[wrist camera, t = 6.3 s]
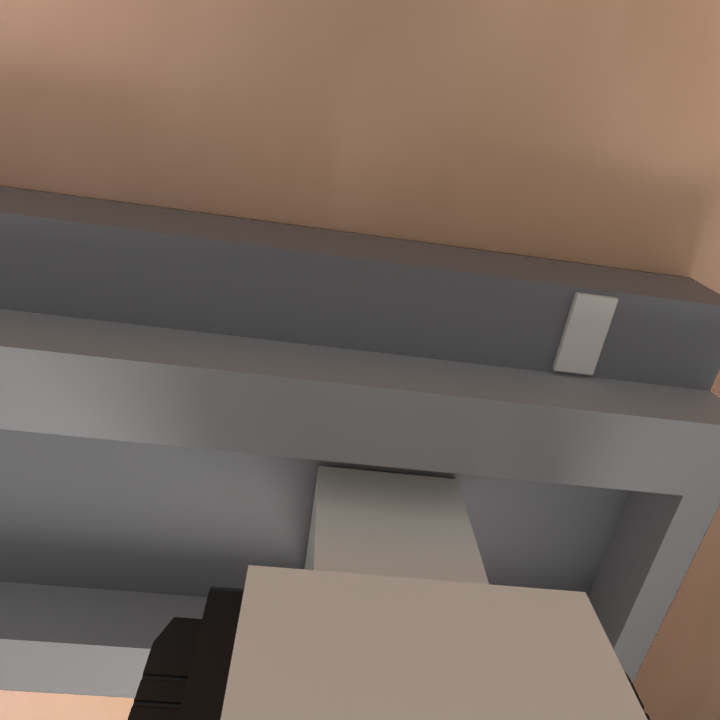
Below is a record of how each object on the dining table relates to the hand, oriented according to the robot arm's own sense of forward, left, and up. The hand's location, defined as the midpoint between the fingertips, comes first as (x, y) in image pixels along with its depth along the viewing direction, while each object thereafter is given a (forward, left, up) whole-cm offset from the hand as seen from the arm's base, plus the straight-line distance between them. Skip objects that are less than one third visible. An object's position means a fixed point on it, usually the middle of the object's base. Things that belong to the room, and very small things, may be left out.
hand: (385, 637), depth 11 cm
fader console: (+6, 0, -5) cm, 8 cm away
